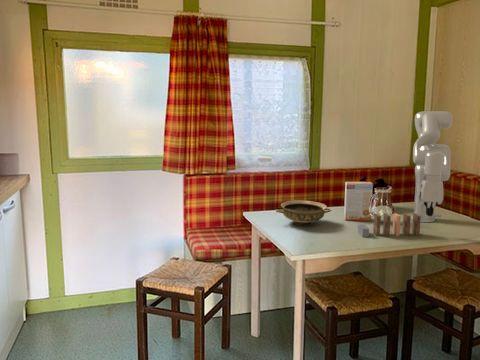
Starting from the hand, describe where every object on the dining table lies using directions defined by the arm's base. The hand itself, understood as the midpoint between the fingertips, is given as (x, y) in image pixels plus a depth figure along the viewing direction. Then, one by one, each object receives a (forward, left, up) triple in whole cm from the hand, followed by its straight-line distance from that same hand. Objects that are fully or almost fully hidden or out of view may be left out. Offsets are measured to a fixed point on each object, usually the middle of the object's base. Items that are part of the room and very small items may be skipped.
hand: (429, 215), depth 215 cm
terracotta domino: (+15, 0, -10) cm, 18 cm away
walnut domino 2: (+20, 0, -10) cm, 22 cm away
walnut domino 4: (+6, 0, -10) cm, 11 cm away
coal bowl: (+11, -53, -10) cm, 55 cm away
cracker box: (+27, -28, -10) cm, 40 cm away
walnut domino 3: (+11, 0, -10) cm, 14 cm away
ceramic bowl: (+58, -20, -10) cm, 62 cm away
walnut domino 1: (+25, 0, -10) cm, 27 cm away
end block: (+31, 0, -10) cm, 33 cm away
